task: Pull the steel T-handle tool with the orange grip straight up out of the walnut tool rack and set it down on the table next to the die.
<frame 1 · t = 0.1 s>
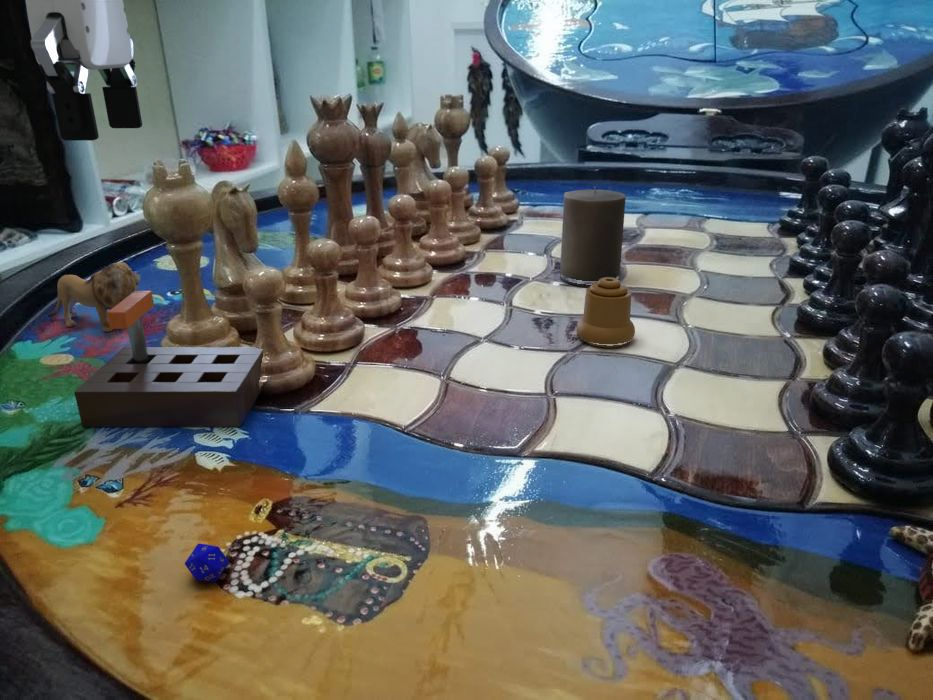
hand: (104, 133, 71), 28 cm above the table, tool pointing down, fingers open, 9 cm apart
pillar candle: (589, 279, 120), on the table
t handle: (147, 392, 81), resting in tool rack
ornamental finial: (604, 339, 96), on the table
die: (209, 578, 53), on the table
lion figurine: (100, 325, 101), on the table
tool rack: (181, 401, 79), on the table
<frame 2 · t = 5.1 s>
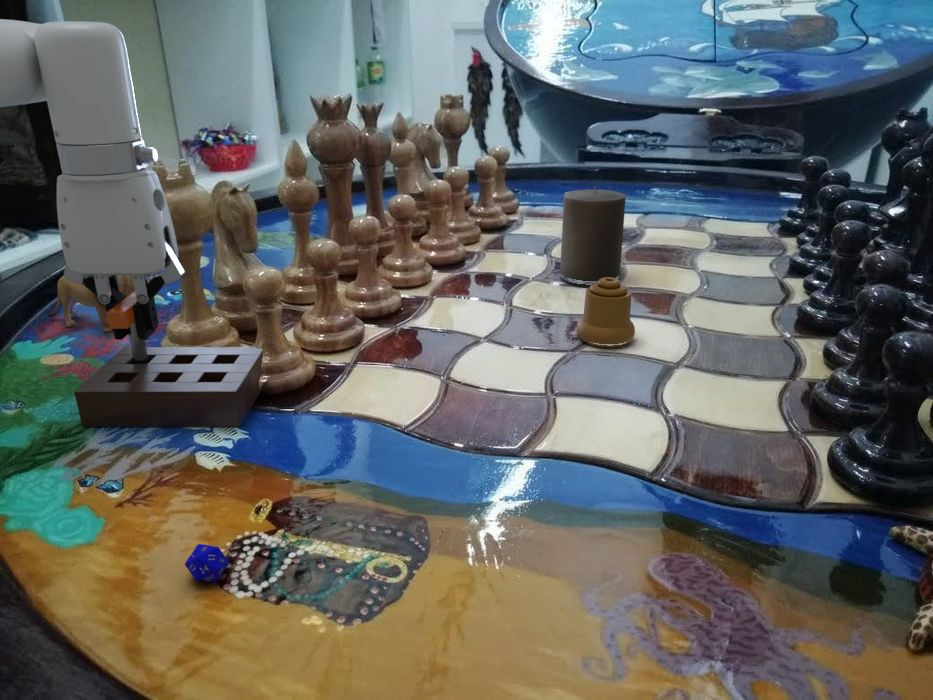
hand: (136, 334, 79), 7 cm above the table, tool pointing down, fingers closed on t handle, 1 cm apart
t handle: (147, 392, 81), resting in tool rack, touching gripper
everything else where it was.
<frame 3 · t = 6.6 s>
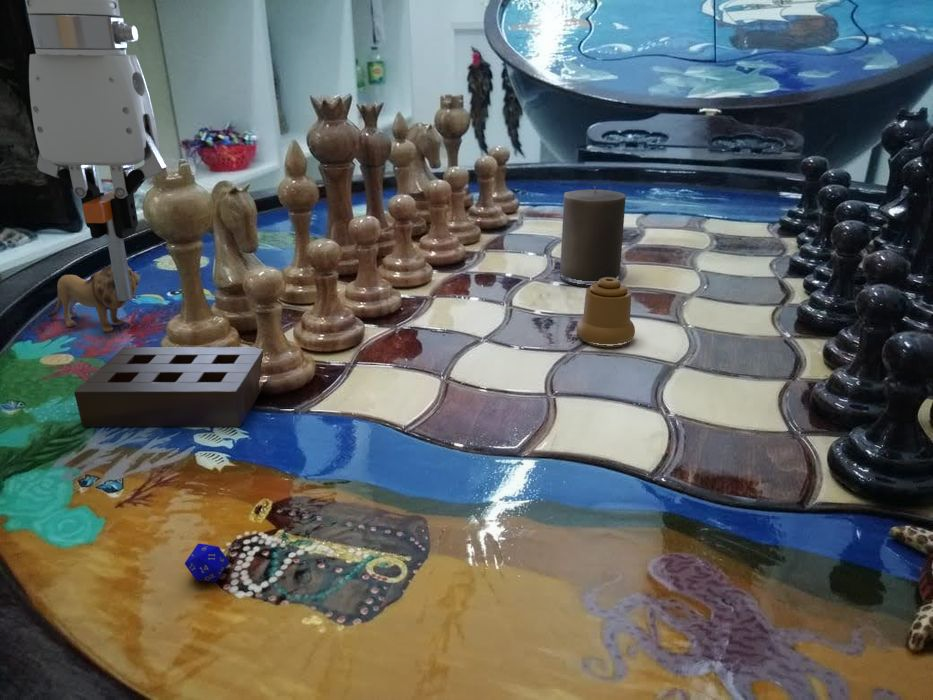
hand: (114, 233, 74), 18 cm above the table, tool pointing down, fingers closed on t handle
t handle: (125, 299, 77), point 11 cm above the table, touching gripper
everything else where it was.
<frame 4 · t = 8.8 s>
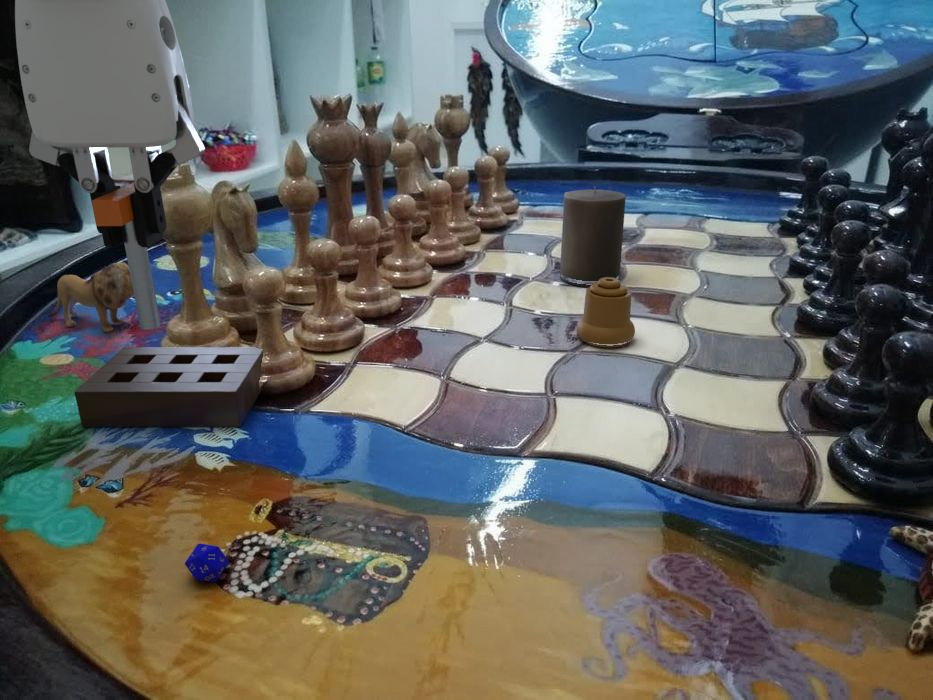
hand: (134, 241, 55), 22 cm above the table, tool pointing down, fingers closed on t handle
t handle: (150, 327, 58), point 15 cm above the table, touching gripper
everything else where it was.
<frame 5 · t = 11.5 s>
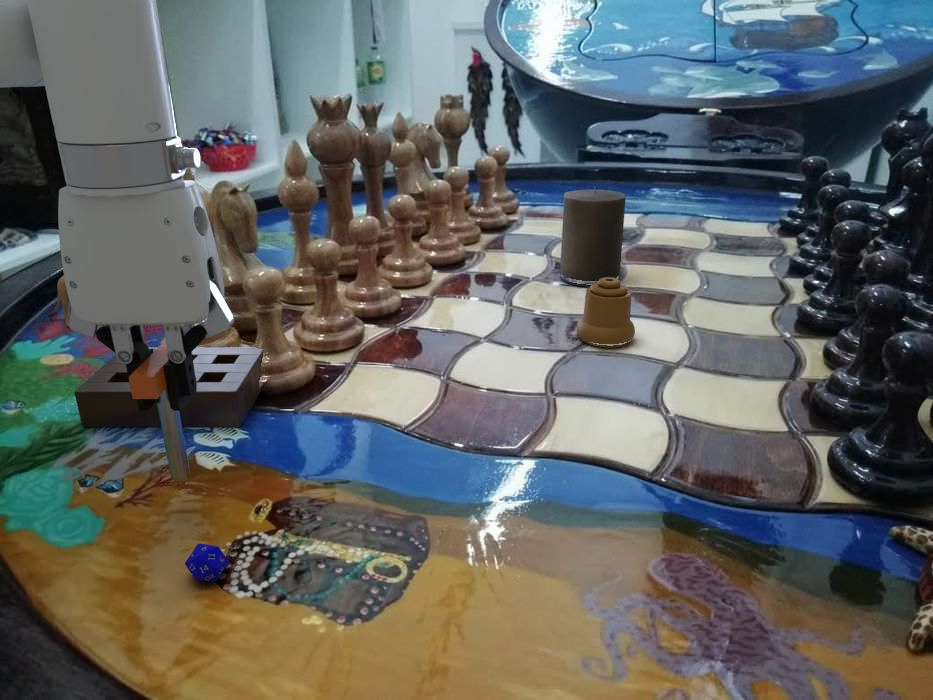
hand: (166, 401, 58), 10 cm above the table, tool pointing down, fingers closed on t handle
t handle: (180, 476, 61), point 3 cm above the table, touching gripper
everything else where it was.
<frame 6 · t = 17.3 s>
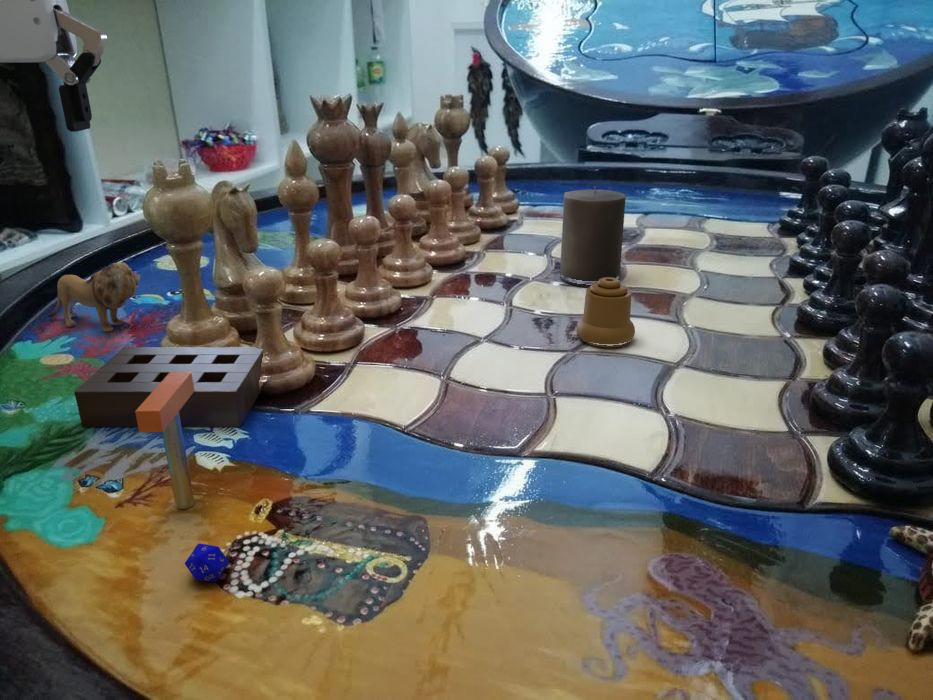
hand: (27, 129, 68), 28 cm above the table, tool pointing down, fingers open, 9 cm apart
t handle: (185, 504, 62), on the table
everything else where it was.
at the end: t handle moved 24.3 cm from its start; t handle 10.2 cm from the die (horizontally); t handle on the table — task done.
